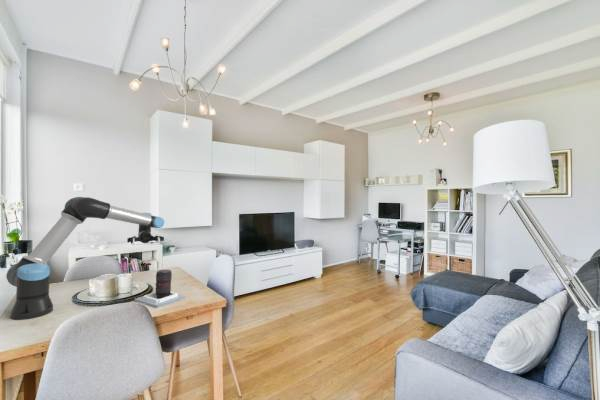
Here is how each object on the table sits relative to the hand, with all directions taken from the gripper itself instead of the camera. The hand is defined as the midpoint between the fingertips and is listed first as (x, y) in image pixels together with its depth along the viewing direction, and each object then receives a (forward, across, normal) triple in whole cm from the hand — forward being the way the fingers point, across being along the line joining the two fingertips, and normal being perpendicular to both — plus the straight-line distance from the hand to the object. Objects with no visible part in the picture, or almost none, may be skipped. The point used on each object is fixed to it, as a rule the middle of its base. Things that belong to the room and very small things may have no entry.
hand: (146, 241), depth 171 cm
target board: (+14, -7, -32) cm, 36 cm away
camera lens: (+14, -9, -31) cm, 35 cm away
